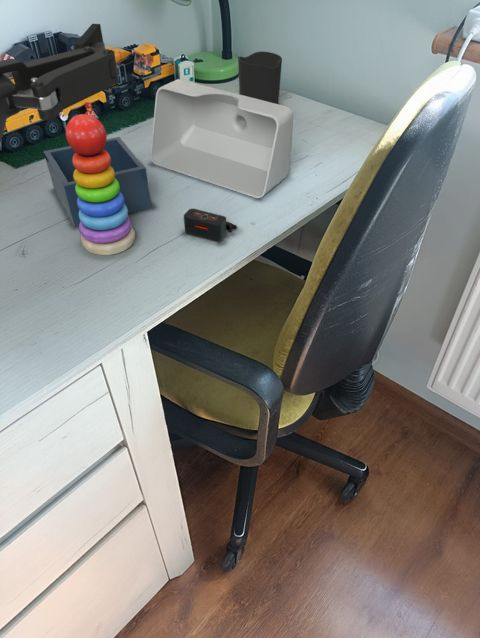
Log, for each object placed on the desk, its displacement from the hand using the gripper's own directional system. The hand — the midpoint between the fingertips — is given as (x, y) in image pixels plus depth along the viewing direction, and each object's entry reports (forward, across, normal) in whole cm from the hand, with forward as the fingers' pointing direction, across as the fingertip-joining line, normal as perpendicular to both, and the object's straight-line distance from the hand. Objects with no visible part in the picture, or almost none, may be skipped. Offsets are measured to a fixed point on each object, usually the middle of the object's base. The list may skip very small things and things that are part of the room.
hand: (29, 37), depth 50 cm
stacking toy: (+10, 0, -30) cm, 32 cm away
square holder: (+22, -4, -30) cm, 38 cm away
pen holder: (+65, +22, -30) cm, 75 cm away
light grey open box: (+37, +17, -30) cm, 50 cm away
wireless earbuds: (+13, +16, -30) cm, 36 cm away
